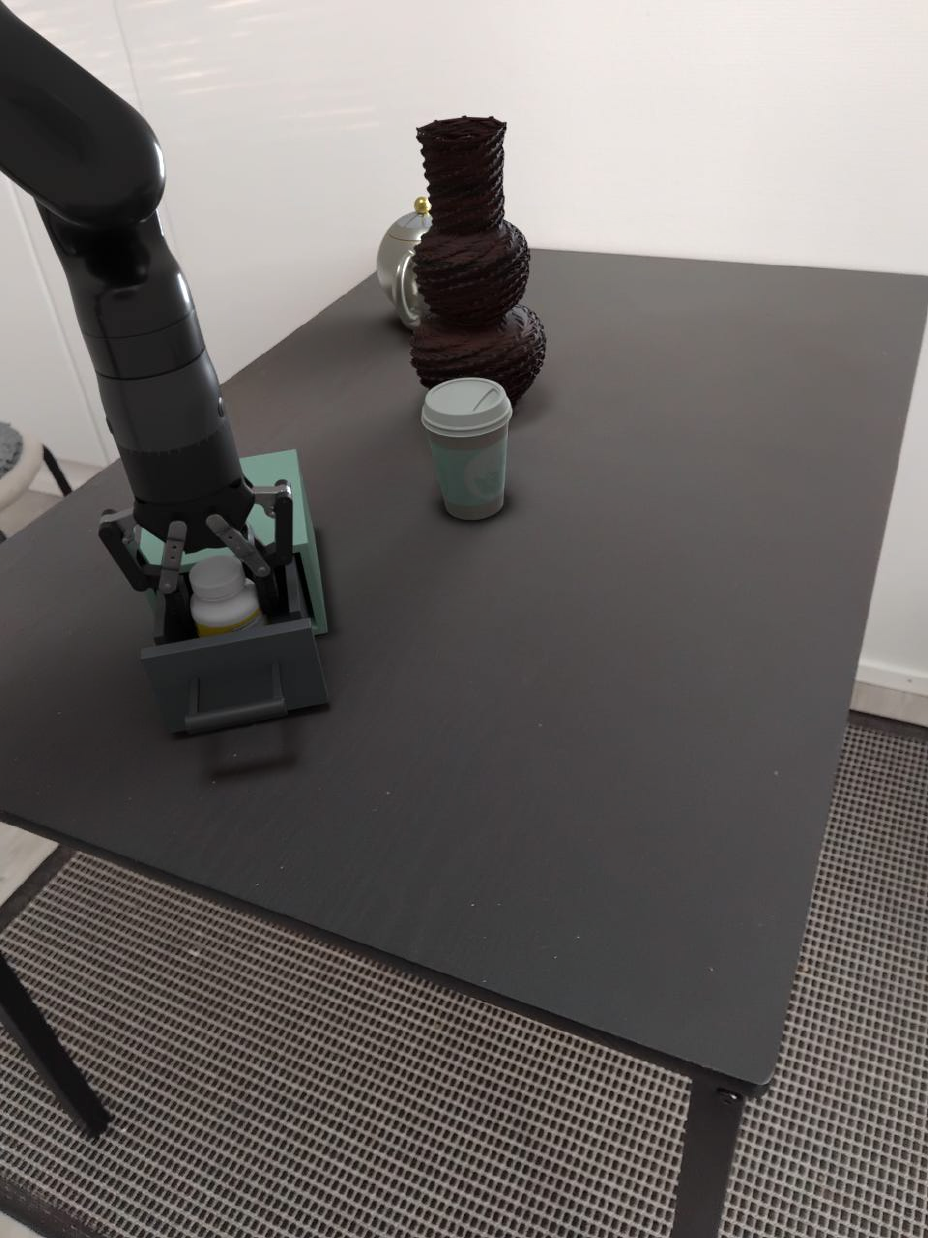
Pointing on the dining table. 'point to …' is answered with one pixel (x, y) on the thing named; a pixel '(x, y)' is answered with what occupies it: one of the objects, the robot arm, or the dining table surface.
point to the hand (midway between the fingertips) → (228, 614)
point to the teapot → (404, 263)
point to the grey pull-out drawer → (237, 663)
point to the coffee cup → (469, 444)
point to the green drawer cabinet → (264, 530)
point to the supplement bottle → (223, 597)
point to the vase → (472, 265)
